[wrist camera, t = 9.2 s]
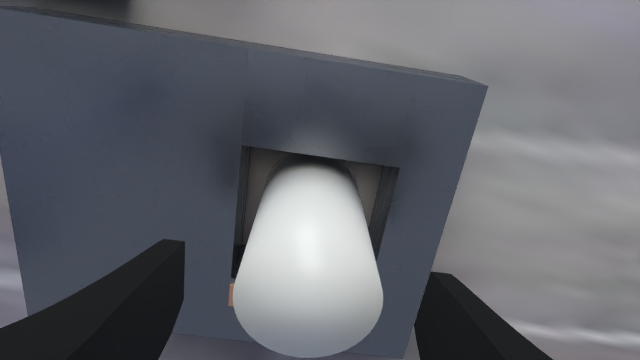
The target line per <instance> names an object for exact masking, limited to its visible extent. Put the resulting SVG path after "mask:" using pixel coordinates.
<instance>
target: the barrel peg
mask: <svg viewBox="0 0 640 360" xmlns="http://www.w3.org/2000/svg"><path fill="white" fill-rule="evenodd" d="M233 306H234V310H235V314H236V316H237V318H238V321H239V322H240V324H241V325H242V327H243V328H244V330H245V331H246V332H247V333H248V334H249V335H250V336H251V337H252V338H253V339H254V340H255V341H257V342H258V343H260V344H261V345H263V346H264V347H266V348H268V349H270V350H272V351H275V352H277V353H280V354H283V355H287V356H292V357H300V358H317V357H325V356H330V355H333V354H337V353H340V352H342V351H344V350H347V349H349V348H351V347H352V346H354V345H356V344H357V343H358V342H360V341H361V340H363V339H364V338H365V337H366V336H367V335H368V334H369V333H370V331H371V330H372V329H373V328H374V326H375V324H376V323H377V321H378V319H379V316H380V314H381V310H382V306H383V290H382V285H381V281H380V277H379V273H378V269H377V265H376V261H375V256H374V252H373V248H372V244H371V240H370V236H369V231H368V227H367V223H366V219H365V215H364V211H363V207H362V202H361V198H360V194H359V190H358V186H357V182H356V178H355V176H354V174H353V172H352V170H351V169H350V167H349V166H348V165H347V164H346V163H345V162H344V161H343V160H342V159H335V158H328V157H321V156H314V155H307V154H300V153H291V154H289V155H287V156H285V157H284V158H282V159H281V160H280V161H279V162H278V163H277V164H276V165H275V166H274V167H273V169H272V170H271V172H270V174H269V176H268V179H267V182H266V185H265V188H264V191H263V195H262V198H261V201H260V204H259V207H258V211H257V214H256V217H255V220H254V223H253V226H252V230H251V233H250V236H249V239H248V242H247V245H246V249H245V252H244V255H243V258H242V261H241V264H240V268H239V271H238V274H237V277H236V280H235V284H234V288H233Z"/></svg>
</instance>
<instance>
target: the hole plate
mask: <svg viewBox="0 0 640 360" xmlns="http://www.w3.org/2000/svg"><path fill="white" fill-rule="evenodd" d="M487 89H488V86H486V85H484V84H481V83H478V82H476V81H473V80H470V79H468V78H465V77H462V76H457V75H451V74H445V73H439V72H432V71H426V70H420V69H414V68H407V67H401V66H395V65H389V64H382V63H376V62H370V61H364V60H357V59H351V58H345V57H339V56H332V55H326V54H320V53H314V52H307V51H301V50H295V49H289V48H283V47H276V46H270V45H264V44H258V43H251V42H245V41H239V40H233V39H226V38H220V37H214V36H208V35H201V34H195V33H189V32H183V31H176V30H170V29H164V28H158V27H151V26H145V25H139V24H133V23H126V22H120V21H114V20H108V19H102V18H95V17H89V16H83V15H77V14H70V13H64V12H58V11H52V10H45V9H39V8H33V7H15V6H0V155H1V161H2V167H3V173H4V179H5V185H6V190H7V196H8V202H9V208H10V214H11V220H12V225H13V231H14V237H15V243H16V249H17V255H18V260H19V266H20V272H21V278H22V284H23V290H24V295H25V301H26V307H27V313H28V316H30V315H33V314H35V313H37V312H39V311H41V310H43V309H45V308H47V307H49V306H51V305H53V304H55V303H57V302H59V301H61V300H63V299H65V298H67V297H69V296H71V295H73V294H74V293H76V292H78V291H80V290H81V289H83V288H85V287H87V286H88V285H90V284H92V283H94V282H95V281H97V280H99V279H101V278H102V277H104V276H106V275H108V274H109V273H111V272H112V271H114V270H115V269H117V268H119V267H120V266H122V265H123V264H125V263H127V262H128V261H130V260H131V259H133V258H134V257H136V256H137V255H139V254H140V253H142V252H143V251H145V250H147V249H148V248H150V247H151V246H153V245H154V244H156V243H157V242H159V241H161V240H162V239H170V240H178V241H185V272H184V300H183V303H182V306H181V309H180V312H179V314H178V317H177V320H176V323H175V325H174V328H173V331H172V333H174V334H183V335H192V336H201V337H211V338H220V339H229V340H238V341H247V342H256V343H258V342H257V341H255V340H254V339H253V338H252V337H251V336H250V335H249V334H248V333H247V332H246V331H245V330H244V328H243V327H242V325H241V324H240V322H239V321H238V318H237V316H236V314H235V310H234V306H233V288H234V284H235V280H236V277H237V274H238V271H239V268H240V264H241V261H242V258H243V255H244V252H245V249H246V245H242V240H243V229H244V217H245V206H246V195H247V183H248V172H249V161H250V150H251V147H258V148H265V149H272V150H279V151H286V152H293V153H300V154H307V155H314V156H321V157H328V158H335V159H342V160H349V161H356V162H363V163H370V164H377V165H384V166H383V170H382V174H381V179H380V183H379V187H378V192H377V196H376V200H375V205H374V209H373V213H372V218H371V222H370V226H369V236H370V240H371V244H372V248H373V252H374V256H375V261H376V265H377V269H378V273H379V277H380V281H381V285H382V290H383V306H382V310H381V314H380V316H379V319H378V321H377V323H376V324H375V326H374V328H373V329H372V330H371V331H370V333H369V334H368V335H367V336H366V337H365V338H364V339H363V340H361V341H360V342H358V343H357V344H356V345H354V346H352V347H351V348H349V349H347V350H344V351H342V352H347V353H356V354H365V355H374V356H383V357H392V358H401V359H403V356H404V353H405V350H406V347H407V344H408V340H409V337H410V334H411V331H412V328H413V325H414V321H415V318H416V315H417V312H418V309H419V305H420V302H421V299H422V296H423V293H424V289H425V286H426V283H427V280H428V277H429V274H430V270H431V267H432V264H433V261H434V258H435V254H436V251H437V248H438V245H439V242H440V238H441V235H442V232H443V229H444V226H445V223H446V219H447V216H448V213H449V210H450V207H451V203H452V200H453V197H454V194H455V191H456V187H457V184H458V181H459V178H460V175H461V172H462V168H463V165H464V162H465V159H466V156H467V152H468V149H469V146H470V143H471V140H472V137H473V133H474V130H475V127H476V124H477V121H478V117H479V114H480V111H481V108H482V105H483V101H484V98H485V95H486V92H487Z"/></svg>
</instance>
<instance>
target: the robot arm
mask: <svg viewBox="0 0 640 360" xmlns="http://www.w3.org/2000/svg"><path fill="white" fill-rule="evenodd" d="M184 272H185V241H178V240H170V239H162V240H161V241H159V242H157V243H156V244H154V245H153V246H151V247H150V248H148V249H147V250H145V251H143V252H142V253H140V254H139V255H137V256H136V257H134V258H133V259H131V260H130V261H128V262H127V263H125V264H123V265H122V266H120V267H119V268H117V269H115V270H114V271H112V272H111V273H109V274H108V275H106V276H104V277H102V278H101V279H99V280H97V281H95V282H94V283H92V284H90V285H88V286H87V287H85V288H83V289H81V290H80V291H78V292H76V293H74V294H73V295H71V296H69V297H67V298H65V299H63V300H61V301H59V302H57V303H55V304H53V305H51V306H49V307H47V308H45V309H43V310H41V311H39V312H37V313H35V314H33V315H30V316H28V317H26V318H24V319H22V320H19V321H17V322H15V323H12V324H10V325H7V326H5V327H3V328H0V360H158V359H159V357H160V355H161V353H162V351H163V349H164V347H165V345H166V343H167V341H168V339H169V337H170V335H171V333H172V331H173V328H174V325H175V323H176V320H177V317H178V314H179V312H180V309H181V306H182V303H183V300H184ZM414 328H415V334H416V340H417V345H418V350H419V355H420V360H553V359H552V358H550V357H549V356H548V355H546V354H545V353H544V352H542V351H541V350H540V349H538V348H537V347H536V346H535V345H533V344H532V343H531V342H530V341H528V340H527V339H526V338H525V337H523V336H522V335H521V334H520V333H519V332H517V331H516V330H515V329H514V328H513V327H511V326H510V325H509V324H508V323H507V322H506V321H504V320H503V319H502V318H501V317H500V316H499V315H497V314H496V313H495V312H494V311H493V310H492V309H491V308H490V307H488V306H487V305H486V304H485V303H484V302H483V301H482V300H481V299H479V298H478V297H477V296H476V295H475V294H474V293H473V292H472V291H471V290H469V289H468V288H467V287H466V286H465V285H464V284H463V283H461V282H460V281H459V280H458V279H457V278H455V277H454V276H453V275H451V274H446V273H438V272H431V273H430V276H429V279H428V282H427V285H426V289H425V292H424V295H423V298H422V301H421V304H420V308H419V311H418V314H417V317H416V320H415V324H414Z"/></svg>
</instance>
